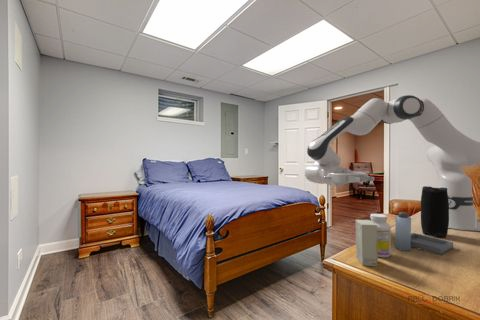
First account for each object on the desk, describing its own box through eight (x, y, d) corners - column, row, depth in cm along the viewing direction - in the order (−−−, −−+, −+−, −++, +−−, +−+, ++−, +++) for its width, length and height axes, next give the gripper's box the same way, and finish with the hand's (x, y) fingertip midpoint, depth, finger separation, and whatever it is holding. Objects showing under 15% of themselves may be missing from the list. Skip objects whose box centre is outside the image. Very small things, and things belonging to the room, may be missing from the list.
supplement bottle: (370, 248, 78) (370, 211, 78) (393, 254, 74) (393, 215, 73) (363, 253, 74) (364, 215, 74) (387, 260, 69) (387, 219, 69)
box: (413, 237, 89) (413, 232, 89) (453, 248, 78) (453, 242, 78) (399, 243, 83) (399, 237, 83) (440, 255, 73) (440, 248, 73)
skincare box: (378, 267, 65) (378, 225, 65) (361, 265, 66) (361, 224, 66) (370, 257, 71) (370, 219, 71) (355, 256, 72) (355, 218, 72)
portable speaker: (451, 235, 91) (451, 187, 91) (444, 240, 86) (445, 189, 86) (424, 229, 98) (425, 185, 98) (417, 234, 93) (417, 187, 93)
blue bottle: (398, 245, 81) (399, 210, 81) (413, 249, 77) (413, 213, 77) (392, 247, 79) (393, 212, 79) (407, 251, 75) (407, 214, 75)
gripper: (321, 169, 95) (352, 171, 83) (349, 169, 106) (380, 171, 94) (320, 184, 95) (351, 188, 83) (348, 182, 106) (379, 186, 94)
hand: (367, 179), depth 89 cm, fingers open, 8 cm apart
